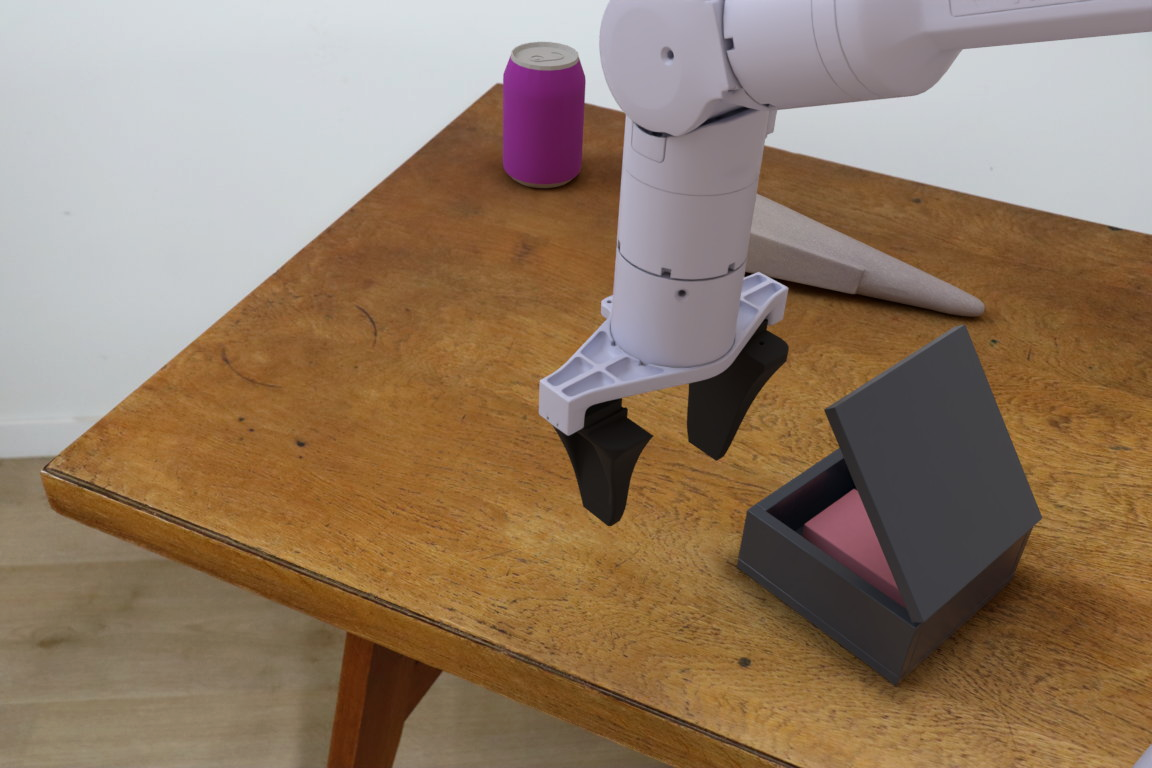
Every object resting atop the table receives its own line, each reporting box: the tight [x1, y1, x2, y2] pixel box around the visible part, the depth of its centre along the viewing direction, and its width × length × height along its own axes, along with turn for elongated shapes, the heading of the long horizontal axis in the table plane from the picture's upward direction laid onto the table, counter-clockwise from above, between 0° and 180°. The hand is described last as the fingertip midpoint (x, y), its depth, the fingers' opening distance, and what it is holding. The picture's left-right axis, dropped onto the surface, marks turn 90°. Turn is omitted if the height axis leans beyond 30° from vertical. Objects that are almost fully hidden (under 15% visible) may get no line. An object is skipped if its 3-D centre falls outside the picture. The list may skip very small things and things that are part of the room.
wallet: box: [802, 489, 906, 609], centre depth 66 cm, size 8×5×2 cm, turn 42°
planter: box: [745, 193, 986, 318], centre depth 94 cm, size 8×9×26 cm
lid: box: [823, 324, 1043, 623], centre depth 60 cm, size 12×12×1 cm
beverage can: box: [502, 41, 587, 189], centre depth 105 cm, size 8×8×12 cm
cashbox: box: [736, 447, 1034, 687], centre depth 66 cm, size 12×12×5 cm
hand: (655, 479), depth 56 cm, fingers open, 7 cm apart
